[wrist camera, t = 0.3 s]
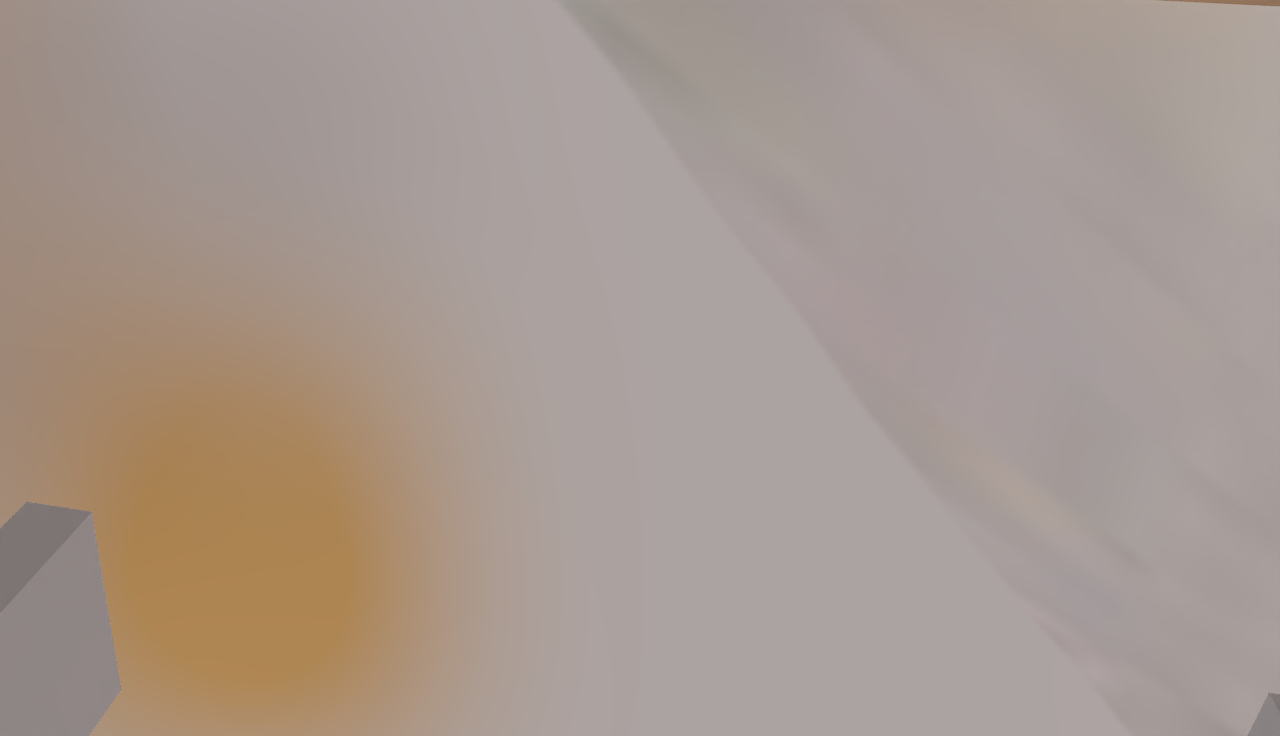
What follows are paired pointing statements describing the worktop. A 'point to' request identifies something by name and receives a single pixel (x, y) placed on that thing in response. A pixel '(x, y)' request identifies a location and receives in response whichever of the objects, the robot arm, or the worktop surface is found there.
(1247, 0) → the hole block
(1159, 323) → the worktop surface
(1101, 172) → the worktop surface
